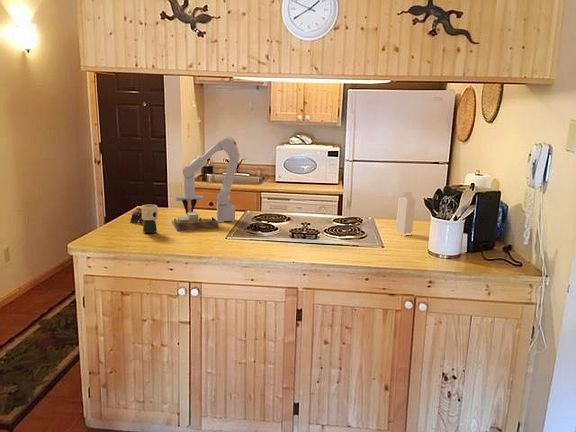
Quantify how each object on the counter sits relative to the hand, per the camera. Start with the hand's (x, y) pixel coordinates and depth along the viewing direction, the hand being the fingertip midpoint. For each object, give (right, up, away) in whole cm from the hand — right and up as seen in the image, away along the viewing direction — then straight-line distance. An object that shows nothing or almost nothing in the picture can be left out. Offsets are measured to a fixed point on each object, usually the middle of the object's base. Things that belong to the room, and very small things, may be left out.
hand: (189, 213), depth 268 cm
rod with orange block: (+2, -3, -5) cm, 6 cm away
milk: (+112, -11, -12) cm, 113 cm away
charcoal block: (+1, -7, -19) cm, 20 cm away
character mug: (-13, -9, -29) cm, 33 cm away
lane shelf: (+5, -6, -13) cm, 15 cm away
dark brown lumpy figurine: (-23, -5, -11) cm, 26 cm away
